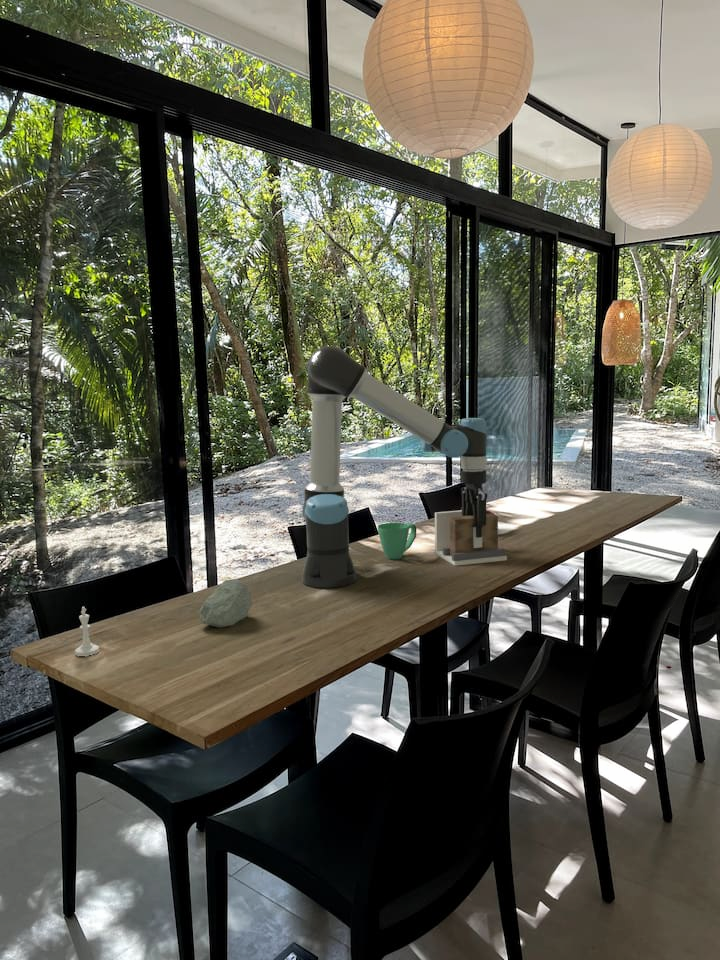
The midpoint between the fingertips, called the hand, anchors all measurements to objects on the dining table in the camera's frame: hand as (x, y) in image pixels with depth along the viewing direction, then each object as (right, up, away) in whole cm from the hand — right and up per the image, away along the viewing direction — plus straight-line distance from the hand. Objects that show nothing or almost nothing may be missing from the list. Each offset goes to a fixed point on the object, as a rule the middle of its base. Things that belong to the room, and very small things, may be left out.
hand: (473, 545), depth 217 cm
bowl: (+6, +1, +36) cm, 37 cm away
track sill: (-1, -4, +4) cm, 5 cm away
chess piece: (-93, -17, -65) cm, 115 cm away
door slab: (0, -3, +1) cm, 3 cm away
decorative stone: (-67, -14, -49) cm, 84 cm away
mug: (-22, -4, +7) cm, 24 cm away
